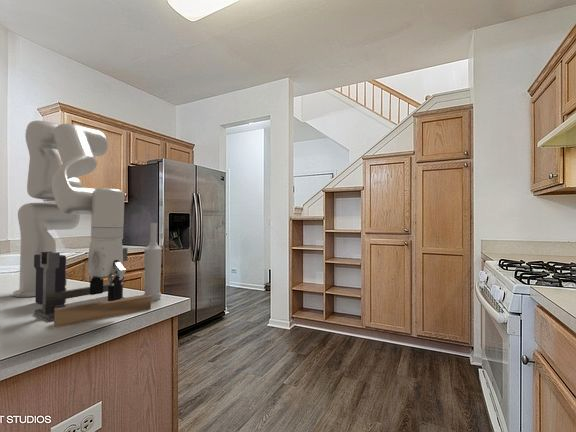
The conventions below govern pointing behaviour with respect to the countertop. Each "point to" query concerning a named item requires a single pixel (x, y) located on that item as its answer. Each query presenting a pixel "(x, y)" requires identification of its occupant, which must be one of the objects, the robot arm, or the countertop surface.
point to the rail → (100, 310)
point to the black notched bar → (59, 279)
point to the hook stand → (50, 296)
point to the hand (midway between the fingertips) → (105, 296)
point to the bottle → (153, 265)
